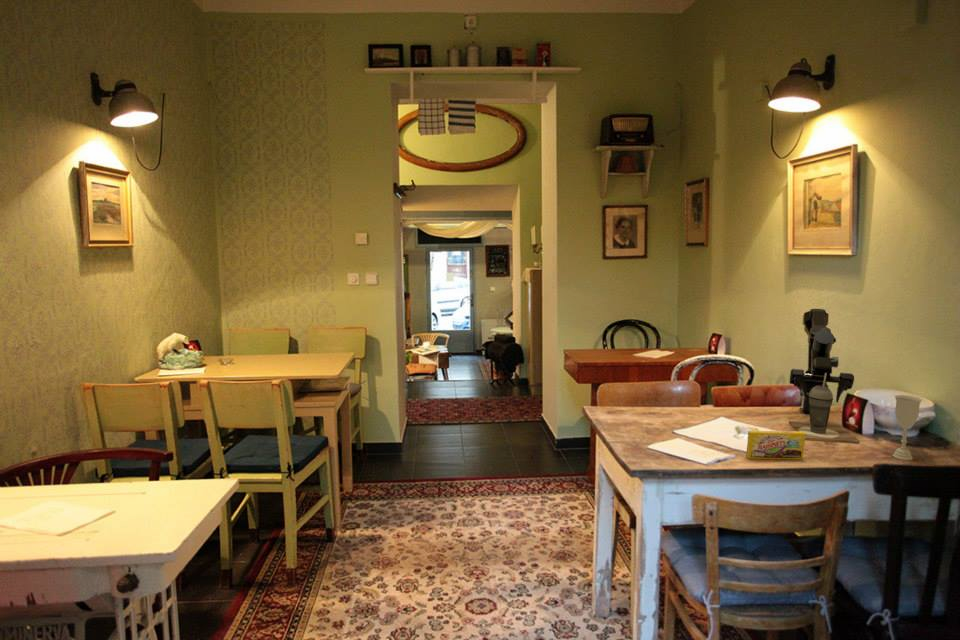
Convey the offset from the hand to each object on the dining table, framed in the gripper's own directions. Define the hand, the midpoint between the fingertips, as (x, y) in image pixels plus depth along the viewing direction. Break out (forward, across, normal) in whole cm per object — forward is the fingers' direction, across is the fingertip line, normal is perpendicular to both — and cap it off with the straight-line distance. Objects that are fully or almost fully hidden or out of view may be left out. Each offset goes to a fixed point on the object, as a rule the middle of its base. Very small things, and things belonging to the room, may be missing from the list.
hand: (821, 400), depth 213 cm
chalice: (+18, +21, -2) cm, 28 cm away
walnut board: (+6, +1, +11) cm, 12 cm away
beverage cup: (+8, 0, +8) cm, 11 cm away
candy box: (+30, -14, -14) cm, 36 cm away
